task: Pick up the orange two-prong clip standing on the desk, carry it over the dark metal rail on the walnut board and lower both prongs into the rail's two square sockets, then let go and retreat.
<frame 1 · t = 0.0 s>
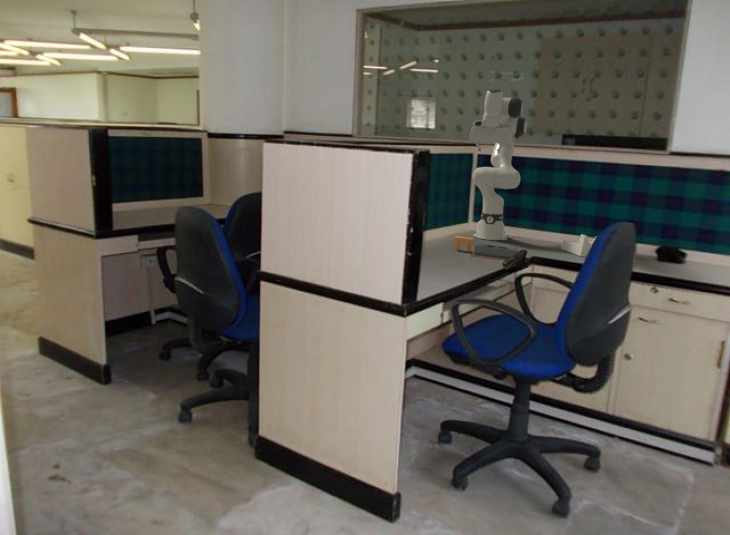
hand: (488, 152, 304), 48 cm above the table, fingers open, 8 cm apart
tape dispenser: (578, 253, 314), on the table
clip: (462, 250, 302), on the table
toy gun: (515, 268, 271), on the table
rail board: (496, 256, 293), on the table
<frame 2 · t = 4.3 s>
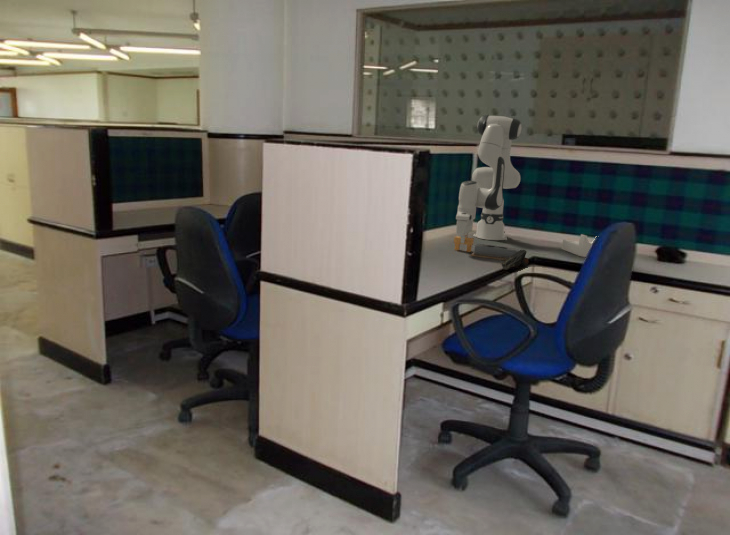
hand: (463, 242, 301), 4 cm above the table, fingers closed on clip, 3 cm apart
clip: (462, 250, 302), on the table, touching gripper
everything else where it was.
when the fingers open (5 cm above the table, at t = 9.7 s): clip stays where it is, resting on rail board.
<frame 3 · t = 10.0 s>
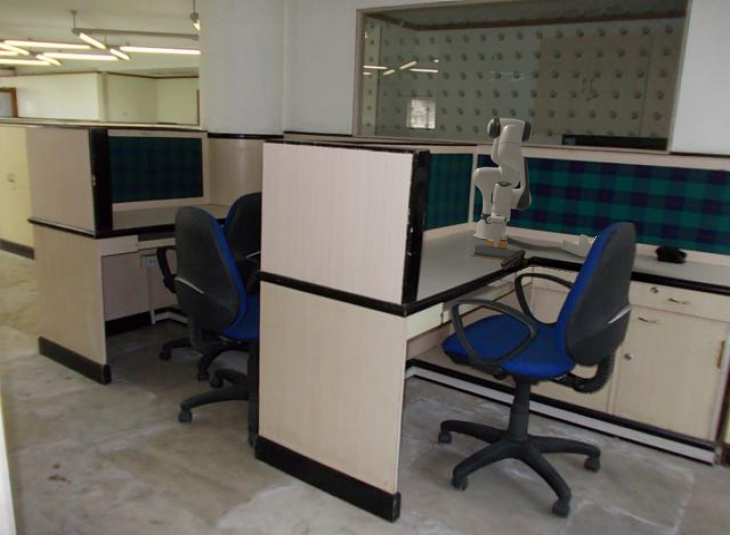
hand: (497, 245, 292), 5 cm above the table, fingers open, 6 cm apart
clip: (496, 254, 293), point 1 cm above the table, touching rail board
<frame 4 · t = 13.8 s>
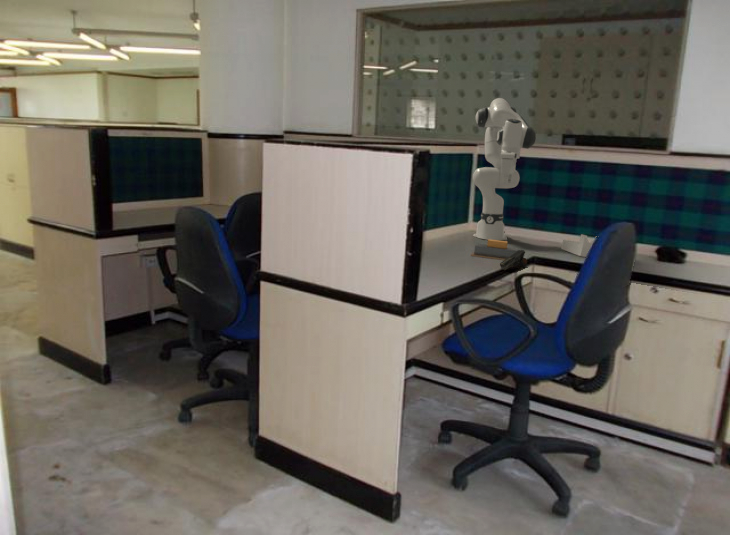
hand: (507, 183, 294), 34 cm above the table, fingers open, 8 cm apart
at the end: clip 0.1 cm off-centre on the rail board, point 1.1 cm above the rail board's base; clip tilted 0°; the gripper is holding nothing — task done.
